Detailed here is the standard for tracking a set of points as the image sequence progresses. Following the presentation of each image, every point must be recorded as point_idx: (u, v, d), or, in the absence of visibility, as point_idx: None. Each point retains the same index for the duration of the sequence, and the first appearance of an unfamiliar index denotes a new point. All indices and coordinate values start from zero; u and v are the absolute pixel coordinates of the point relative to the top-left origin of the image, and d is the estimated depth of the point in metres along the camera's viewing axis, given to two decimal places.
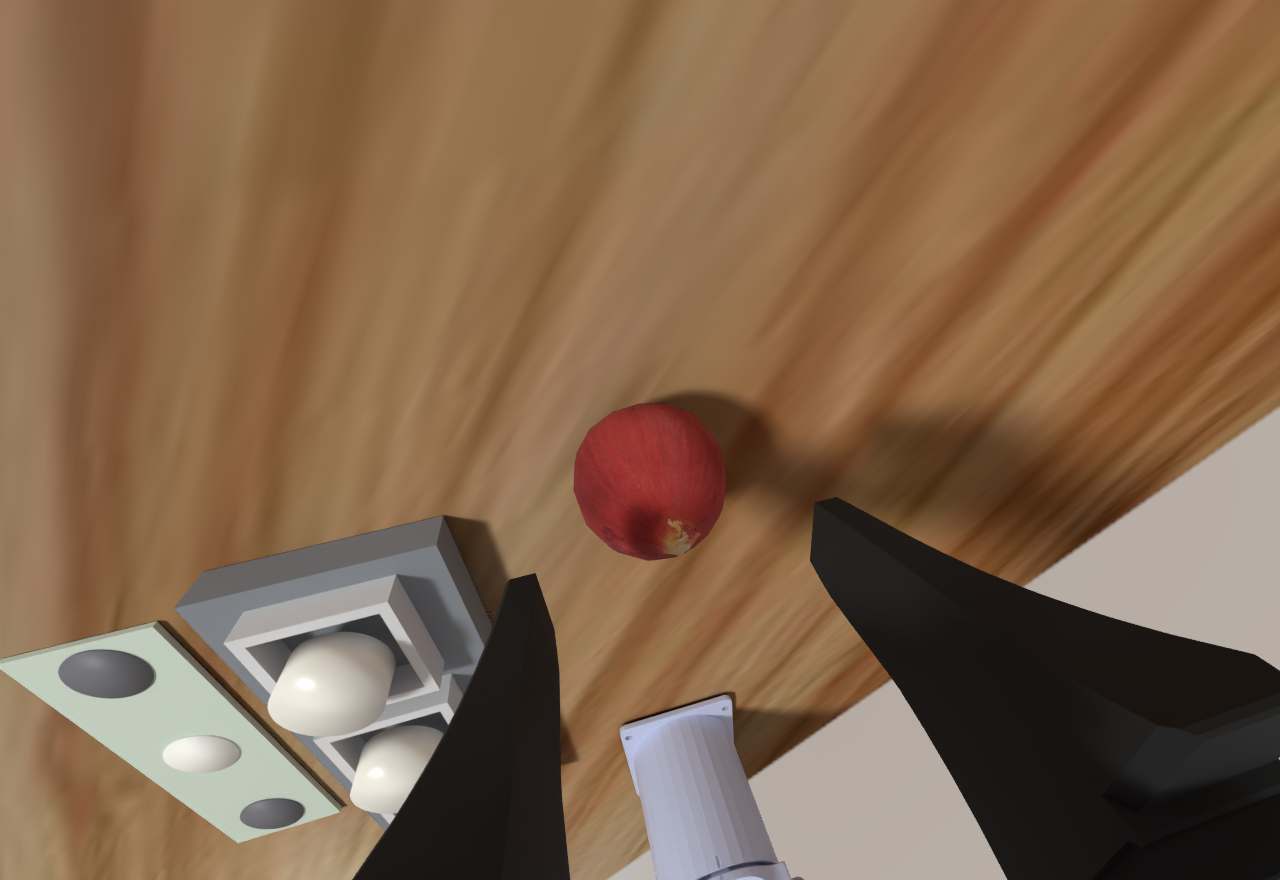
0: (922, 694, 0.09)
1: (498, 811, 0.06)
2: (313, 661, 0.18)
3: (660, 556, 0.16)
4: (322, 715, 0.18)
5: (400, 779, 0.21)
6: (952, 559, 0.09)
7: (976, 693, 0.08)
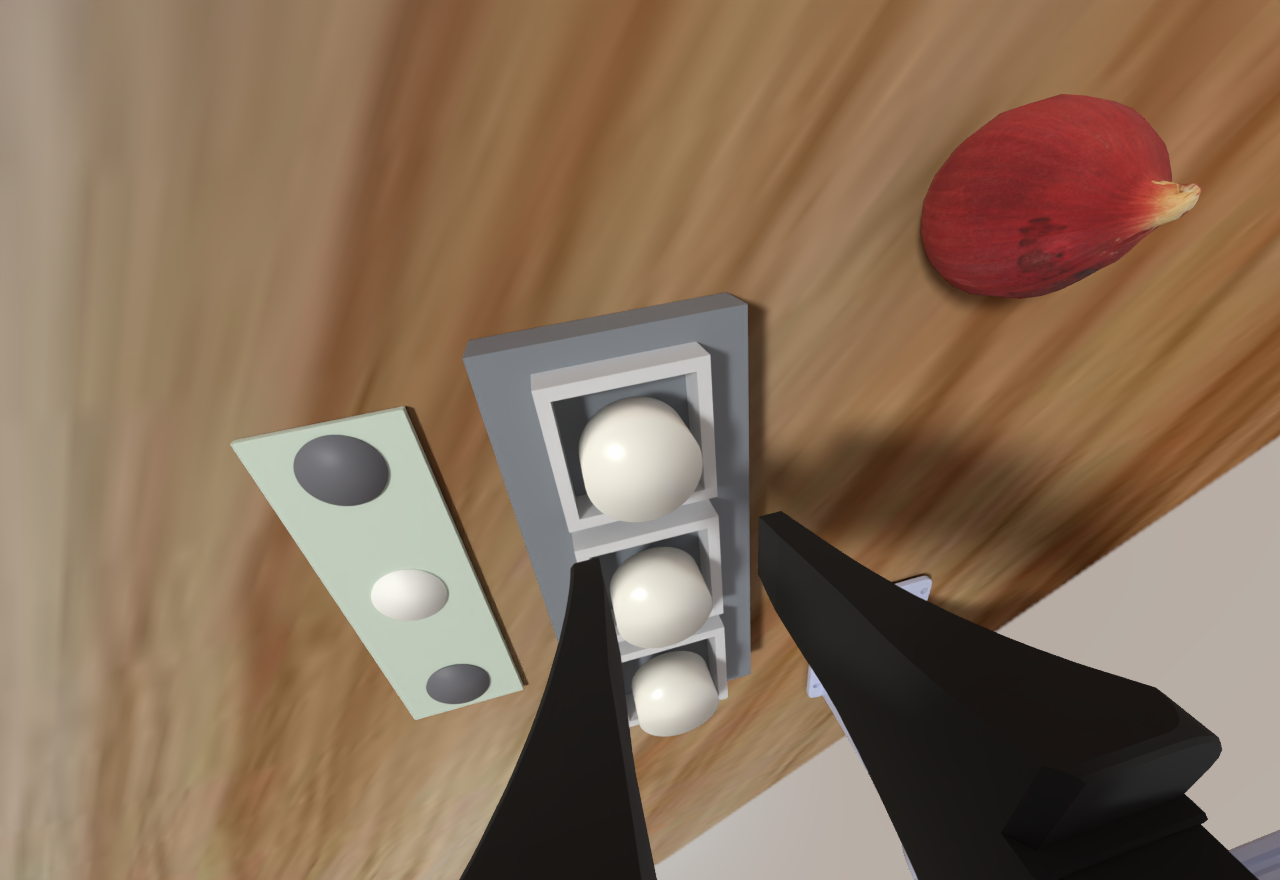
0: (854, 716, 0.09)
1: (614, 775, 0.06)
2: (638, 413, 0.15)
3: (1107, 250, 0.13)
4: (633, 488, 0.16)
5: (672, 599, 0.19)
6: (881, 579, 0.09)
7: (896, 719, 0.08)
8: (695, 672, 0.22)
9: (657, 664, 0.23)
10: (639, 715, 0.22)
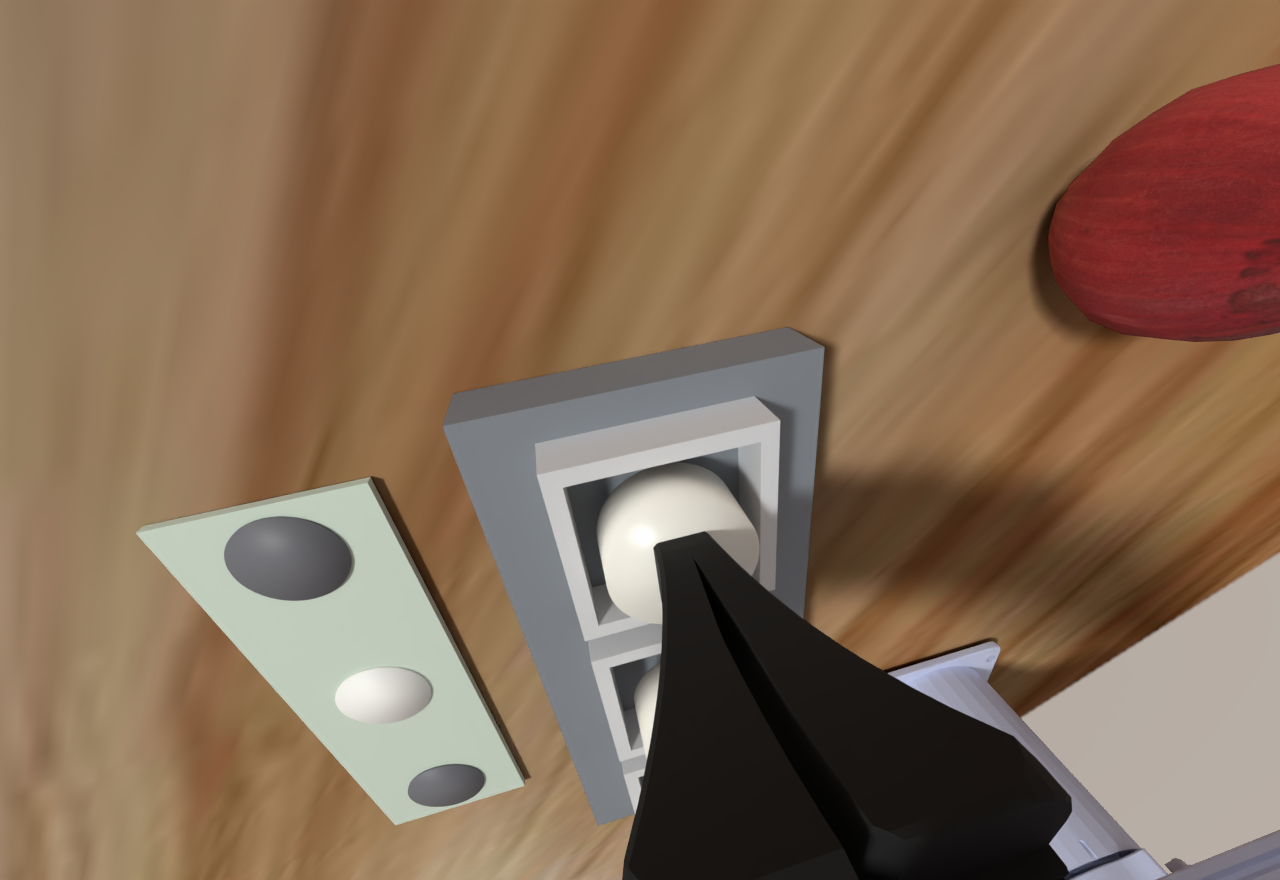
0: None
1: (758, 729, 0.06)
2: (678, 491, 0.11)
3: None
4: None
5: None
6: (782, 607, 0.09)
7: None
8: None
9: None
10: None
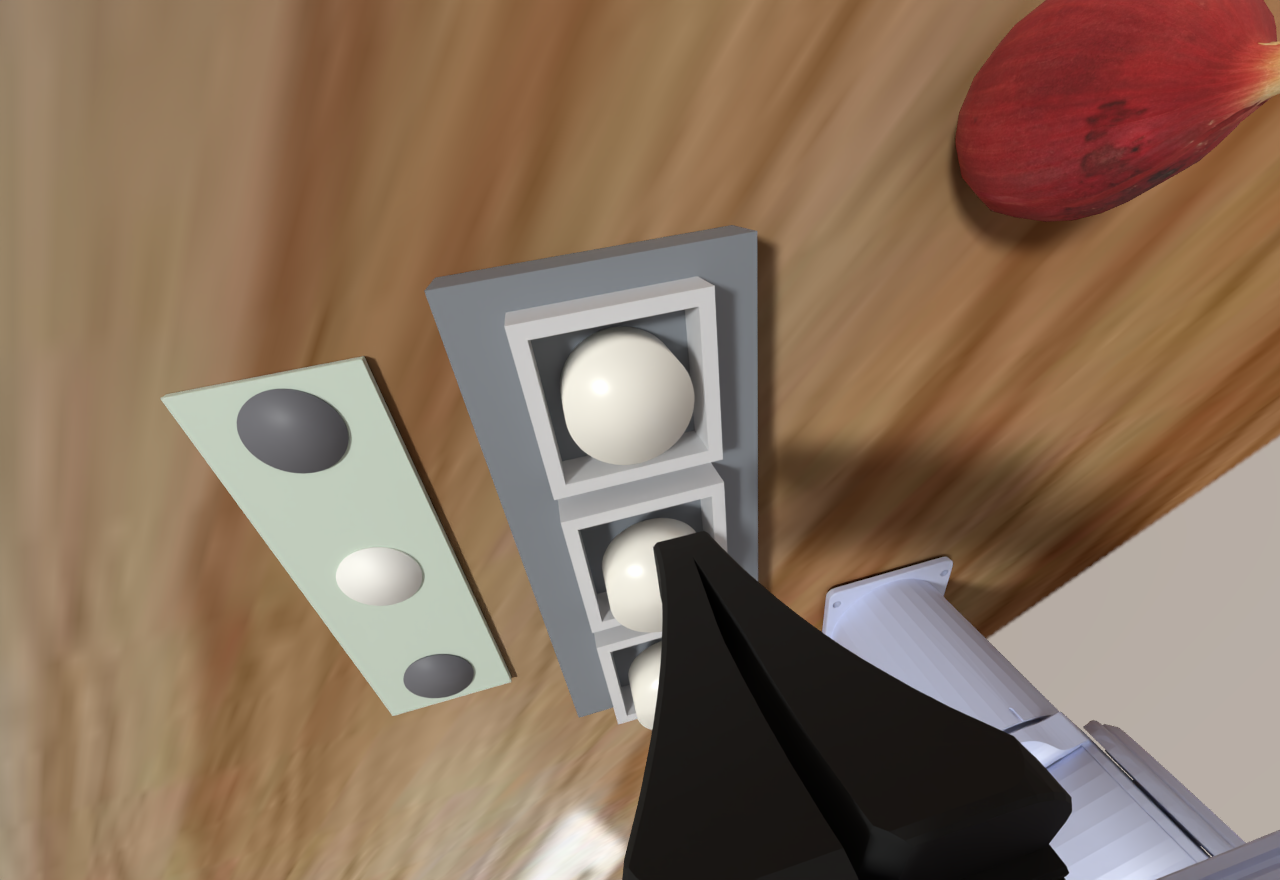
0: None
1: (758, 729, 0.06)
2: (623, 339, 0.14)
3: (1196, 139, 0.11)
4: (619, 424, 0.14)
5: None
6: (782, 607, 0.09)
7: None
8: None
9: (656, 652, 0.21)
10: (637, 708, 0.20)
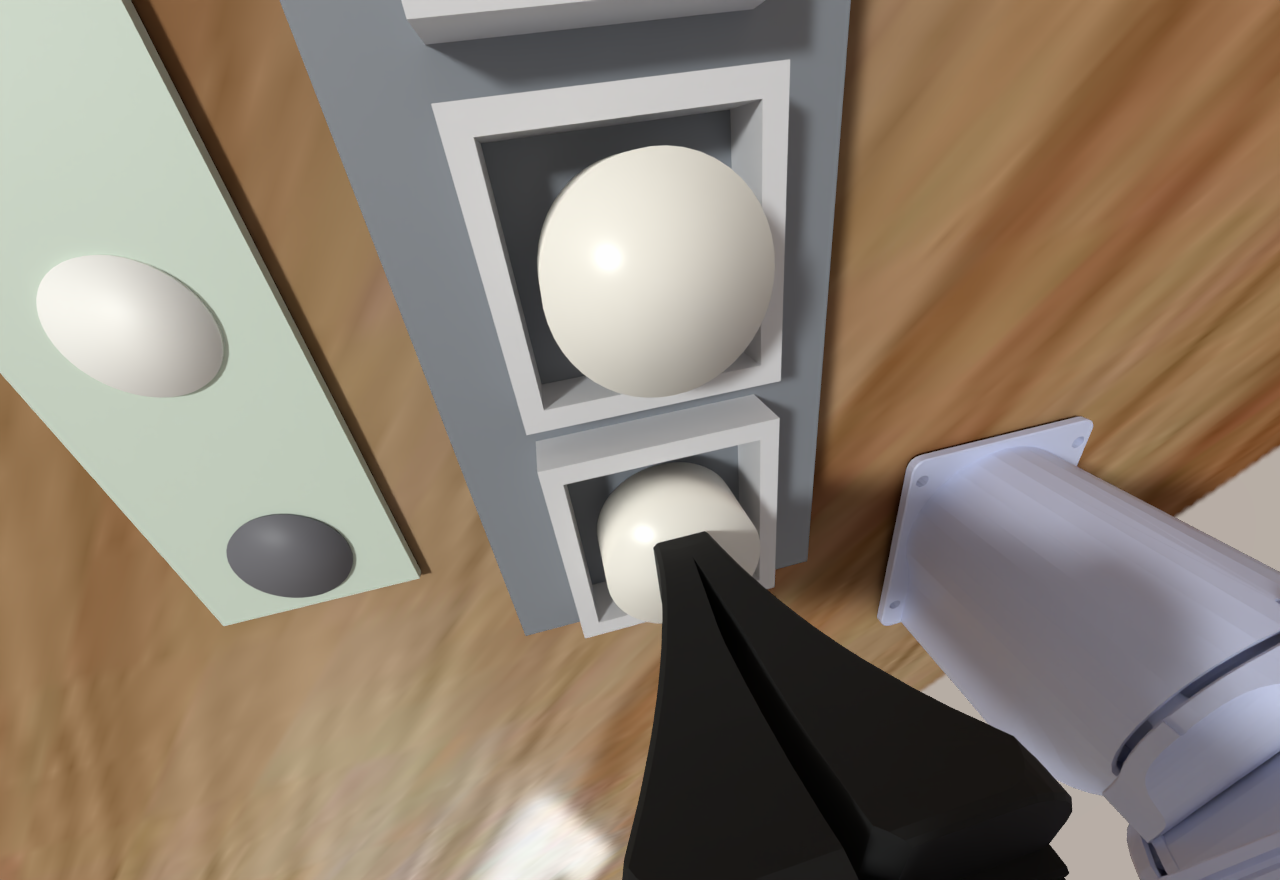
0: None
1: (758, 729, 0.06)
2: None
3: None
4: None
5: (680, 234, 0.07)
6: (782, 607, 0.09)
7: None
8: (716, 490, 0.12)
9: (642, 480, 0.12)
10: (607, 570, 0.11)
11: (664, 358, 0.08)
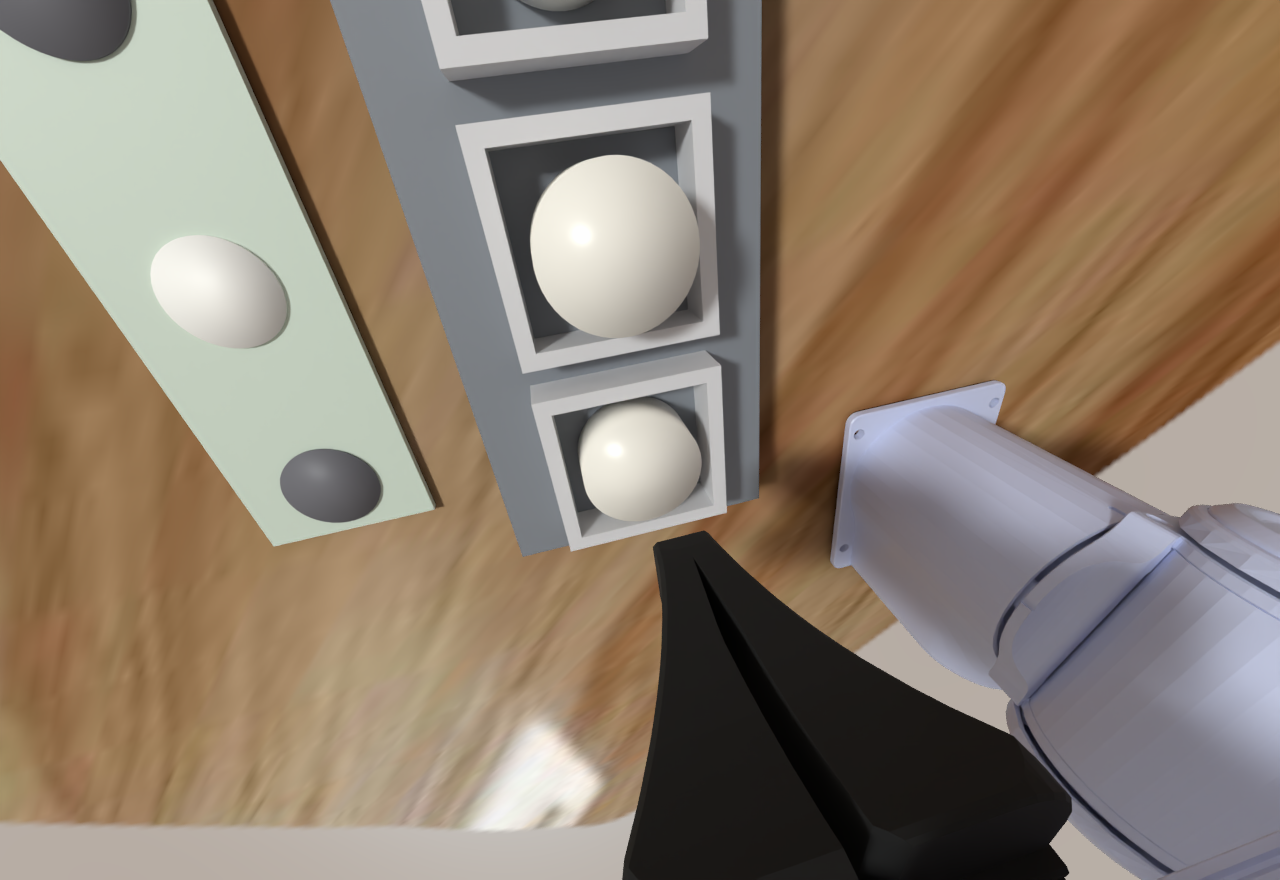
0: None
1: (758, 729, 0.06)
2: None
3: None
4: None
5: (629, 216, 0.11)
6: (782, 607, 0.09)
7: None
8: (666, 414, 0.15)
9: (611, 407, 0.16)
10: (584, 472, 0.15)
11: (622, 307, 0.12)
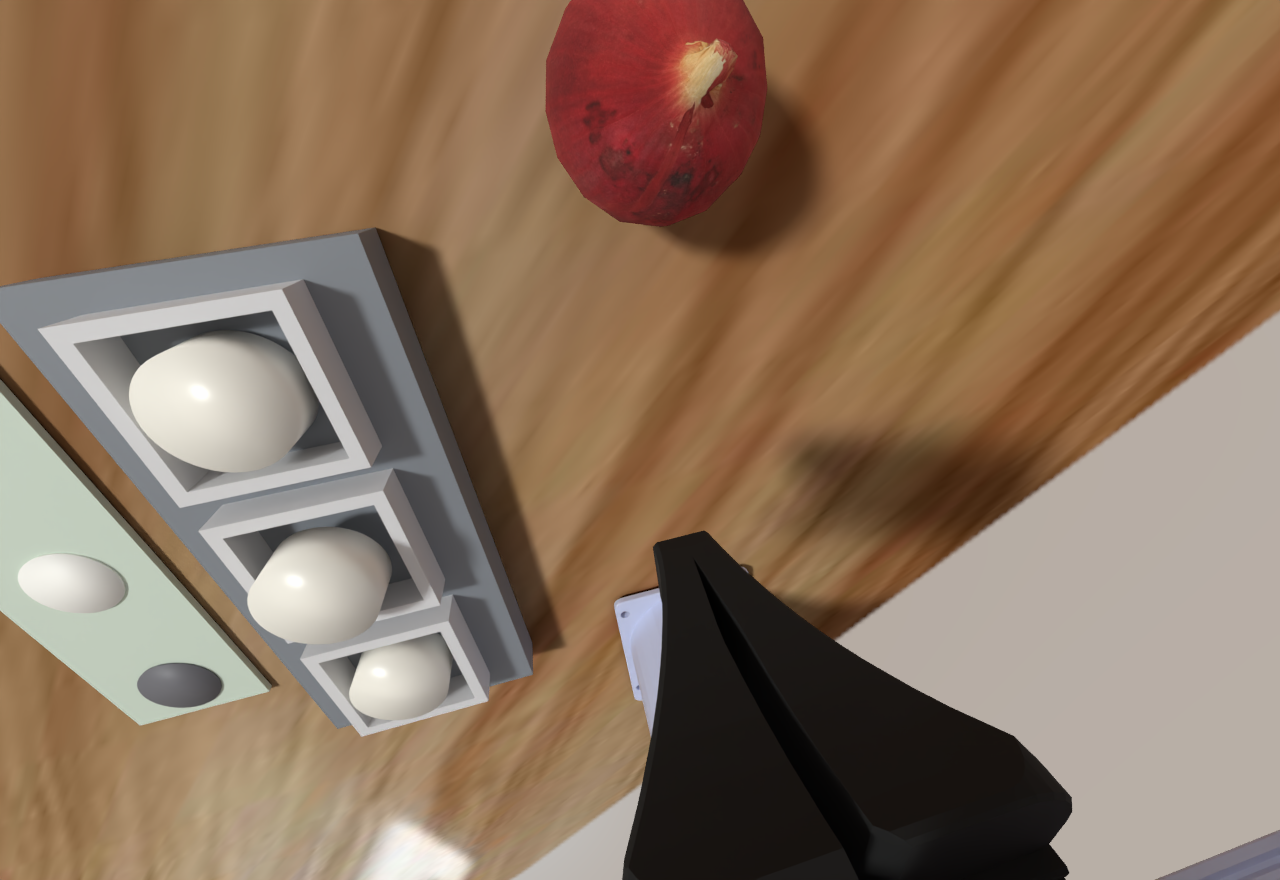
0: None
1: (759, 729, 0.06)
2: (192, 343, 0.13)
3: (672, 142, 0.10)
4: (210, 431, 0.14)
5: (317, 587, 0.16)
6: (782, 607, 0.09)
7: None
8: (415, 650, 0.21)
9: None
10: (350, 696, 0.20)
11: (329, 628, 0.17)
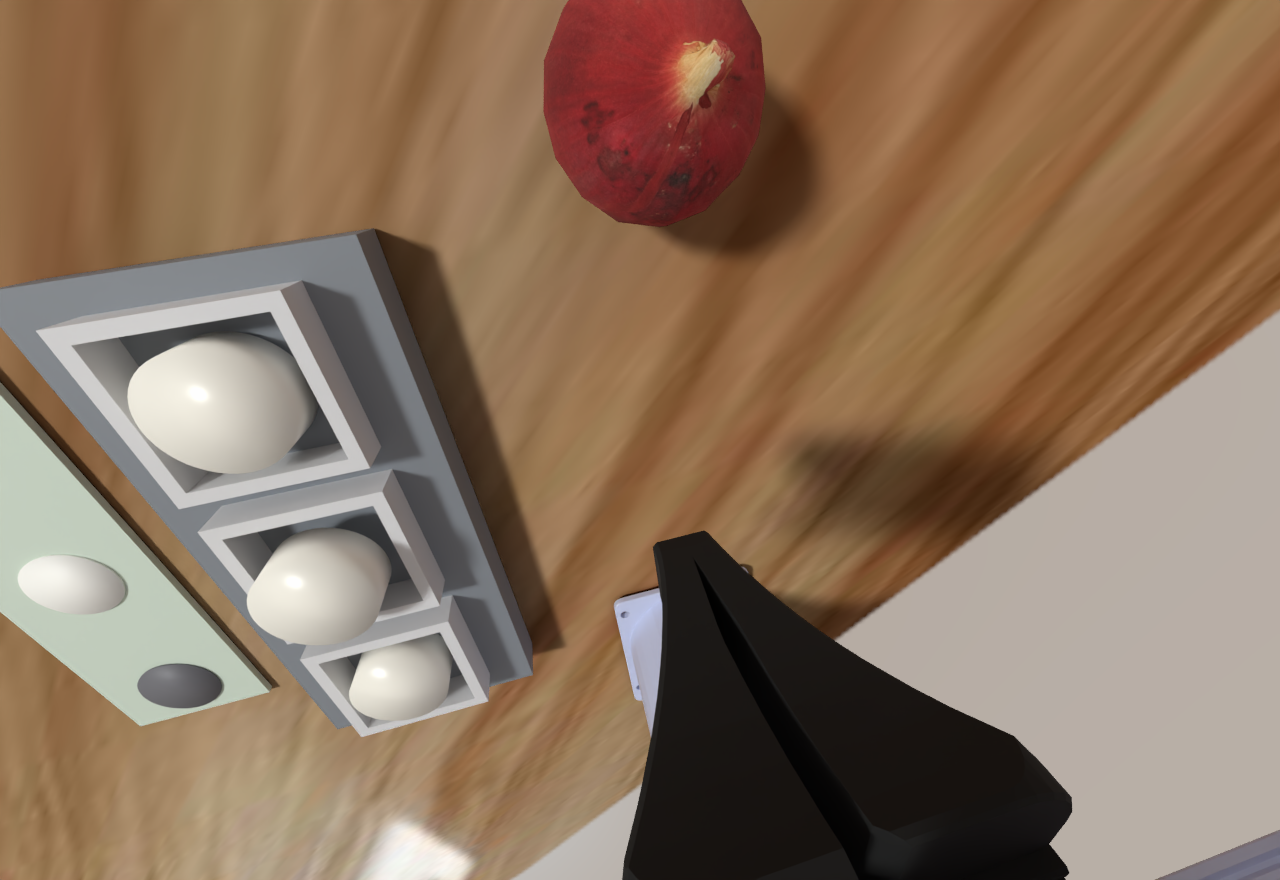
0: None
1: (759, 729, 0.06)
2: (191, 344, 0.13)
3: (670, 142, 0.10)
4: (209, 432, 0.14)
5: (316, 588, 0.16)
6: (782, 607, 0.09)
7: None
8: (415, 650, 0.21)
9: None
10: (350, 697, 0.20)
11: (329, 629, 0.17)
